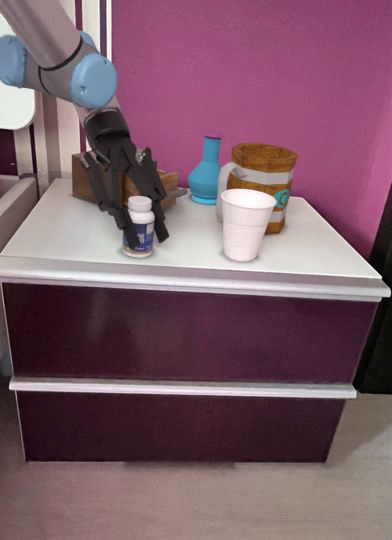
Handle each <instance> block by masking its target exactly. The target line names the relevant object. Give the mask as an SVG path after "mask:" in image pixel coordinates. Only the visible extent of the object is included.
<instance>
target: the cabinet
mask: <svg viewBox="0 0 392 540" xmlns="http://www.w3.org/2000/svg"><path fill="white" fill-rule="evenodd" d="M91 151H92V149H91V150H86V151H82V152H78V153H73V154H71V188H72V189H71V194H72V196H73V197H76V198H79V199H81V200H83V201H87V202H90V203H93V204H95V205H98V204H97V201H96V199H95V196H94V193H93V190H92V187H91V184H90V181H89V178H88V176H87V173H86V171H85V170H84V168H83V167H82V165H81V164H80V159H81V158H82V156H83V155H84V153H85V152H89V153H90V152H91ZM135 158H136V160H137V161H138V158H137V156H135ZM152 160H153V162H154V165H155V167H156V169H158V160H155V159H153V158H152ZM138 163H139V165H140V162H138ZM97 164H98V167H99V170H100V173H101V175H102V178H103V181H104V184H105V187H106V190H107V183H106V178H105V176H104V168H103V166H102V165H101V164H100V163H99V162H97ZM140 169H142V168H141V165H140ZM124 174H125V173H124V172H121V171H118V179H119V188H120V196H121V205H122V206H121V209H122V208H123V207H127V209H129V208H128V206H126V205H123V204H124Z"/></svg>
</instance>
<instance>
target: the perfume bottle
mask: <svg viewBox="0 0 392 540" xmlns="http://www.w3.org/2000/svg"><path fill="white" fill-rule="evenodd" d="M202 135H203V148H202V149H203V150H202V159H201V161H200V162H199V163H198V164H197V166H195V168H194V169H193V170H192V171H191V172H190V173H189V175H188V176H187V184H188V187H189V192H190V193H191V200H192V201H194V202H196V203H199V204H202V205H216V203H217V194H218V178H219V175H220V171H221V168H222V166H221V164H220V162H219V156H220V149H221V142H222V141H223V139H222V138H224V134H223V133H222V132H221V131H219V130H215V129H206V130H205V131H203V133H202ZM228 179H229V178H228ZM228 179H227V183H228Z"/></svg>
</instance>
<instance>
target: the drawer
mask: <svg viewBox="0 0 392 540" xmlns="http://www.w3.org/2000/svg"><path fill="white" fill-rule="evenodd" d="M141 171H142V169H141ZM142 172H143V171H142ZM157 172H158V174H159V176H160V179H161V181H162V184H163V186H164V188H165V191H166V193H167V197H166V198H165V199H164V200H163V201H162V202H161V203H160V204H161V207H162V209H163V210H165V209H168V208H170V207H173V206H175V205H177V199H178V198H181V197H183V196H186V195H188V193H189V191H188V188H186V187H182V188H179V184H178V183H179V173H180V172H178V171H171V172H167V171H166V170H163V169H159V168H157ZM143 174H144V173H143ZM132 196H142V195H141V194H140V192H139V191H138V189H137V188H136V186H135V185H134V183H133V182H132V180H131V179H130V178H129V177H127V176H126V175H125V174H124V204H123V205H126V206H128V199H129V198H130V197H132Z"/></svg>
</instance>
